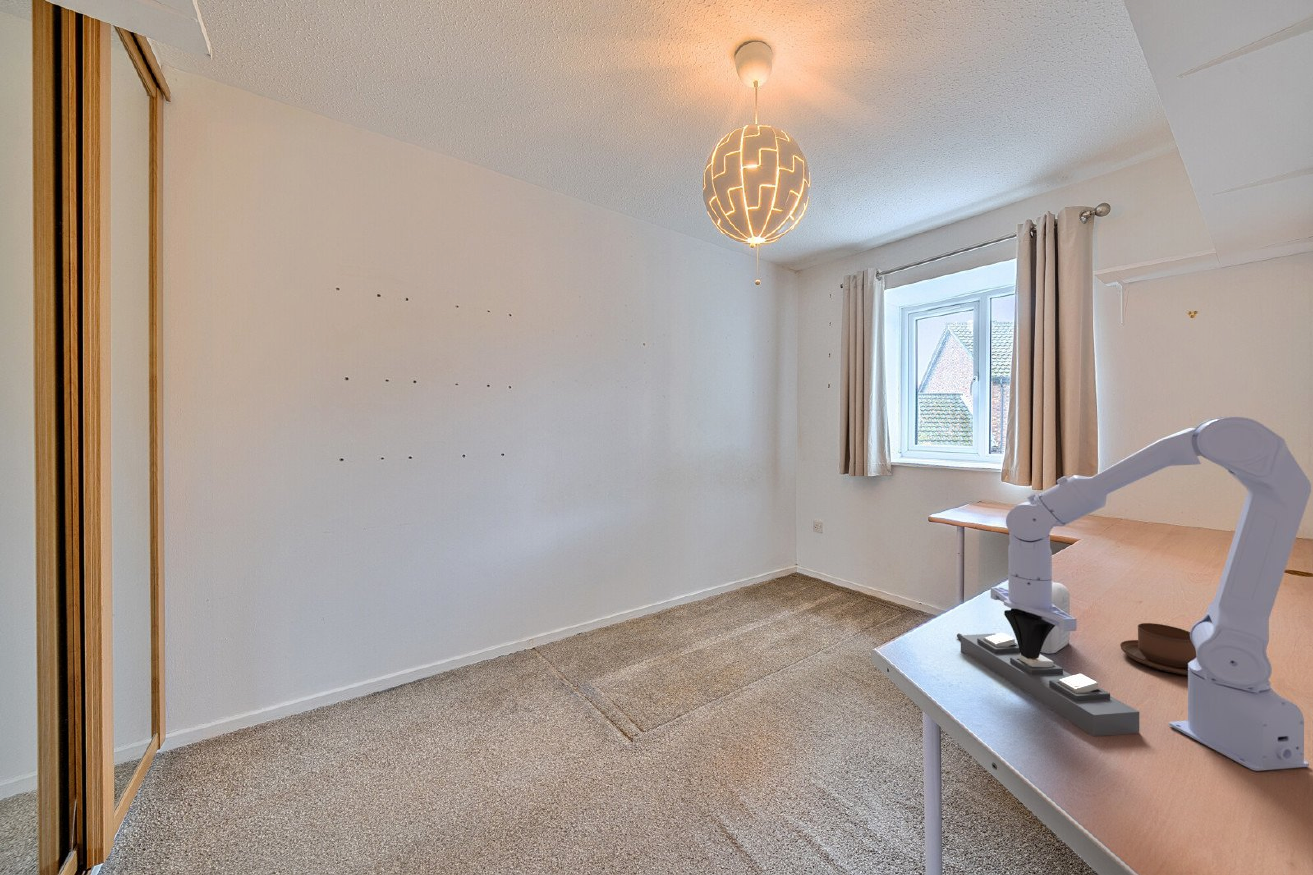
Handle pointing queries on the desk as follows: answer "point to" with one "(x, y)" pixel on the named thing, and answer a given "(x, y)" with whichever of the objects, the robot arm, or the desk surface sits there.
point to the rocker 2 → (1079, 683)
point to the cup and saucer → (1161, 648)
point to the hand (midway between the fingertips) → (1029, 656)
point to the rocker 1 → (1000, 640)
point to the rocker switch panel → (1054, 689)
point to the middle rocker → (1037, 661)
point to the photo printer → (1057, 636)
